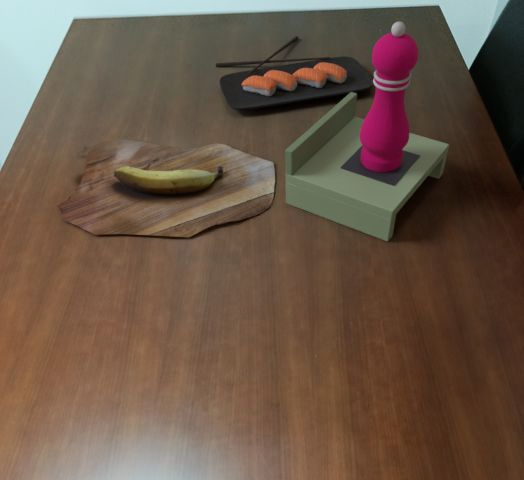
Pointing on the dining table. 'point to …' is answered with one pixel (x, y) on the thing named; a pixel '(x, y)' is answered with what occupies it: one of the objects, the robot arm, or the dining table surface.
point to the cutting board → (167, 189)
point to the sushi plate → (292, 81)
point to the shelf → (355, 173)
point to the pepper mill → (388, 101)
